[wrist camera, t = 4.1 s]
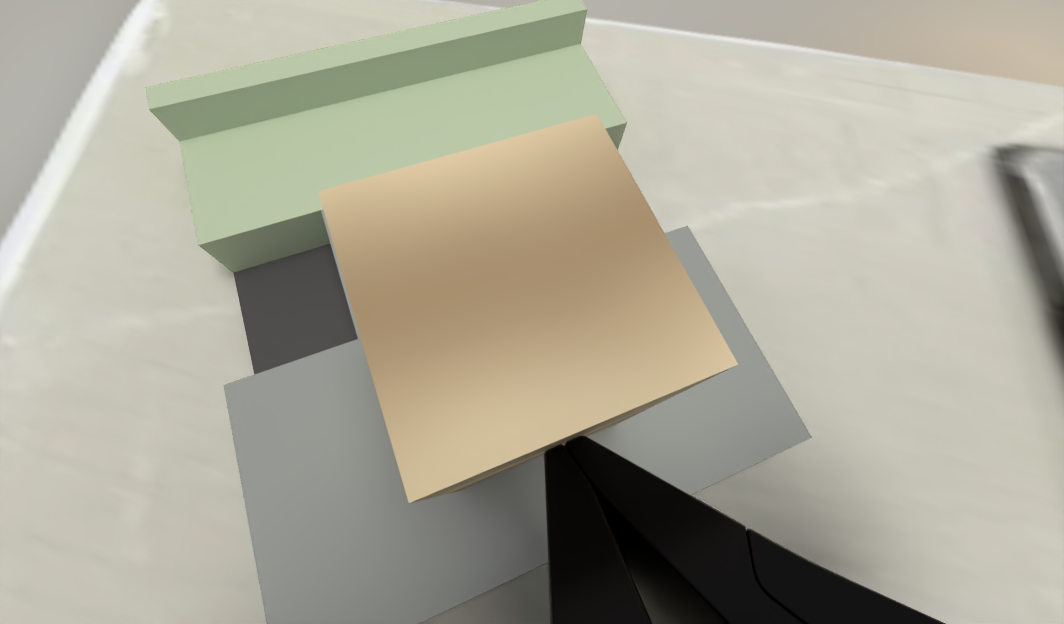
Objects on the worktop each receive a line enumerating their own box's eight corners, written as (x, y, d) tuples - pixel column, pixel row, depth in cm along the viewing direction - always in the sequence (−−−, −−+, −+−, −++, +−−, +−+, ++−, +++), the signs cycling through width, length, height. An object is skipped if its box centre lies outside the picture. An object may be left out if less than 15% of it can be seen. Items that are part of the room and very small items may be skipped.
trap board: (767, 443, 16) (846, 432, 13) (317, 653, 13) (246, 720, 10) (563, 75, 22) (576, -8, 18) (215, 165, 19) (145, 87, 15)
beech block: (617, 424, 14) (738, 364, 7) (459, 491, 13) (409, 502, 6) (553, 283, 15) (596, 113, 8) (408, 333, 14) (318, 191, 7)
